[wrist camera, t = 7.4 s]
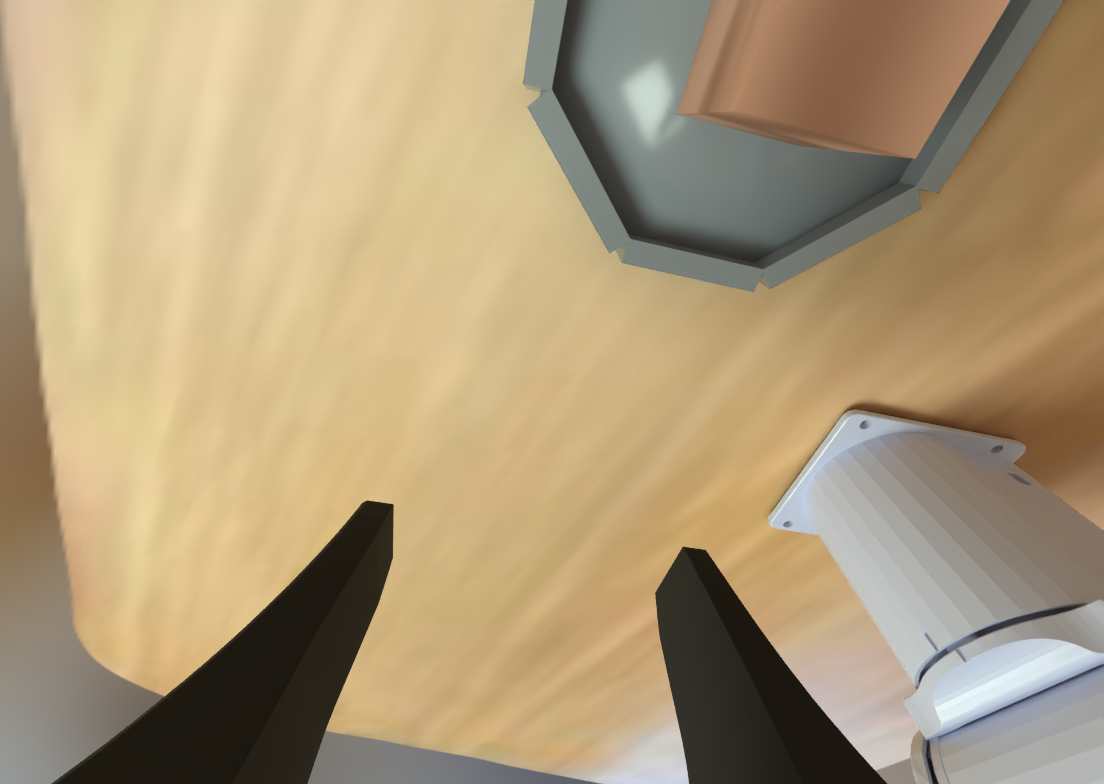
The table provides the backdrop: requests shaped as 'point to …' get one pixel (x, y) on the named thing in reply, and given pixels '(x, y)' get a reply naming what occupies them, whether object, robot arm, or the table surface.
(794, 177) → the dish
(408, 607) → the table surface
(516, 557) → the table surface
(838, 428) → the robot arm
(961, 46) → the block
